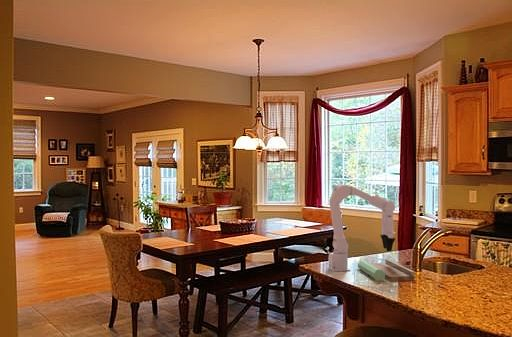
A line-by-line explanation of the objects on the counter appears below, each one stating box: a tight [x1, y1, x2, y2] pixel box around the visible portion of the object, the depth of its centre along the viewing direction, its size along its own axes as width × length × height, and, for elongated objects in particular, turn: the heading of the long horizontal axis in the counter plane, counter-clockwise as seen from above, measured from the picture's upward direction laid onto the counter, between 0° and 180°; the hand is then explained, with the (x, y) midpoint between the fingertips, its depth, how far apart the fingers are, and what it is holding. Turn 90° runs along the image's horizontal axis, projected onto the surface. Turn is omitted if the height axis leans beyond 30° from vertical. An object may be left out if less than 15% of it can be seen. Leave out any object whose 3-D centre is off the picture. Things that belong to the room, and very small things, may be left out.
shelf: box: [370, 258, 415, 282], centre depth 223 cm, size 12×28×4 cm, turn 9°
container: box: [357, 260, 386, 282], centre depth 222 cm, size 6×6×25 cm
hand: (387, 249), depth 234 cm, fingers open, 7 cm apart
